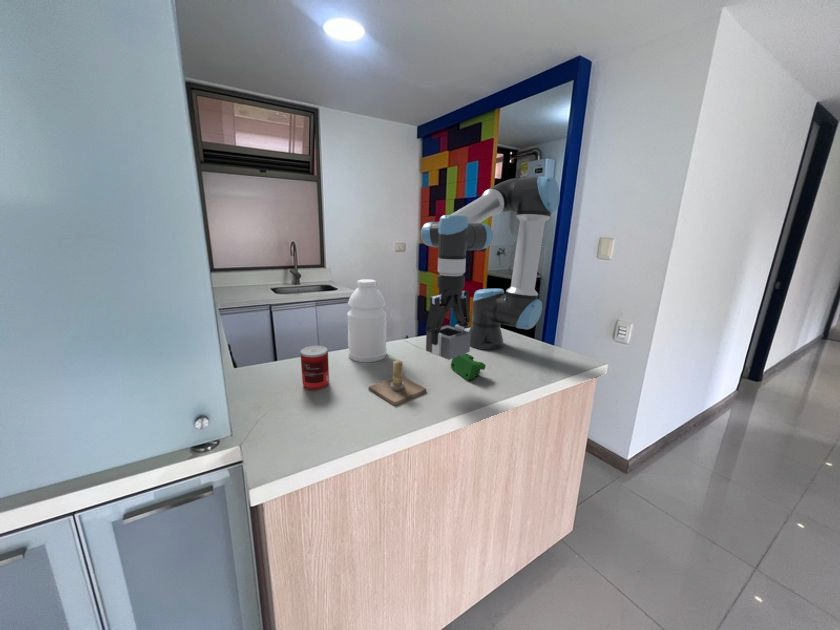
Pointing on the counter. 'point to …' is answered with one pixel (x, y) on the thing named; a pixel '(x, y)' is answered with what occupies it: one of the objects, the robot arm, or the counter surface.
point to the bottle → (366, 323)
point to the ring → (451, 342)
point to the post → (397, 387)
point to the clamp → (467, 366)
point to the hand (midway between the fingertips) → (447, 350)
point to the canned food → (315, 367)
